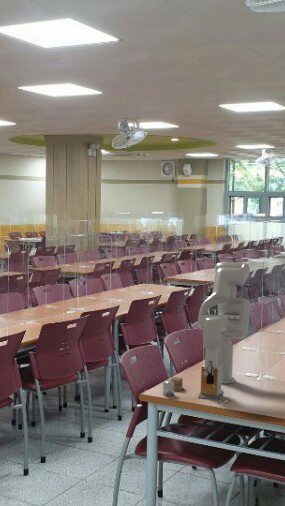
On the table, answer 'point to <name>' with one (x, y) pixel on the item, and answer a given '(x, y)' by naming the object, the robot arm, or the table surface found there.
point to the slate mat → (210, 396)
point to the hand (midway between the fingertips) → (211, 381)
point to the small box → (211, 388)
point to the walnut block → (177, 383)
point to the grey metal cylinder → (168, 388)
